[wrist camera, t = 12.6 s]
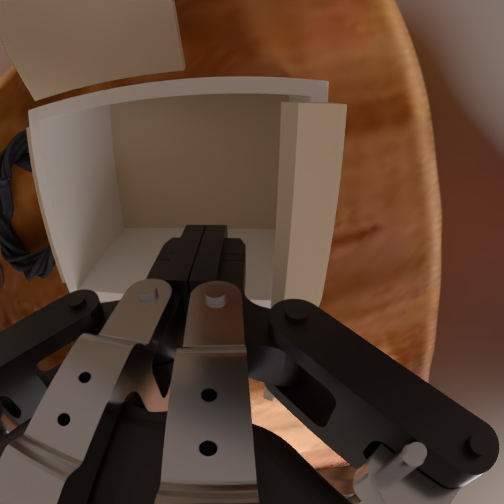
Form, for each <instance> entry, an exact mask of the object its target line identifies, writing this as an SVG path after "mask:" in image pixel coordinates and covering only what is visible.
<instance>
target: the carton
mask: <svg viewBox="0 0 504 504" xmlns="http://www.w3.org/2000/svg"><path fill="white" fill-rule="evenodd" d="M328 86H329V81H320V80H310V79H298V78H283V77H254V76H232V77H203V78H188V79H176V80H166V81H158V82H150V83H142V84H136V85H129V86H123V87H118V88H112V89H107V90H102V91H97V92H93V93H88V94H84V95H80V96H76V97H72V98H68V99H64V100H60V101H57V102H53V103H50V104H47V105H43V106H40V107H37V108H34V109H31V110H28V114H29V125H30V127H27V128H26V131H27V140H28V147H29V154H30V161H31V167H32V172H33V178H34V183H35V188H36V193H37V197H38V202H39V206H40V210H41V214H42V218H43V222H44V225H45V229H46V233H47V236H48V240H49V243H50V246H51V250H52V253H53V256H54V259H55V262H56V265H57V268H58V271H59V274H60V276H61V279H62V282H63V283H66V284H67V287H68V289H69V292H70V293H71V292H74V291H77V290H82V289H87V290H92V291H94V292H95V293H97V295H98V297H99V300H100V303H104V302H110V301H116V300H121V298H122V296H123V295H124V293H125V292H126V290H127V289H128V288H129V287H130V286H131V285H133V284H134V283H136V282H138V281H141V280H145V279H146V278H147V276H148V274H149V272H150V270H151V268H152V266H153V264H154V262H155V260H156V258H157V256H158V254H160V250H161V248H162V246H163V245H164V244H165V243H166V242H167V241H169V240H170V239H171V238H173V237H181V235H182V233H183V231H184V229H185V227H186V225H227V233H228V238H241V240H242V241H243V242H244V244H245V245H246V283H245V296H246V297H247V298H248V299H249V300H250V301H251V302H253V303H255V304H257V305H259V306H262V307H266V308H270V309H271V296H272V281H273V265H274V249H275V232H276V214H277V194H278V173H279V150H280V124H281V102H322V103H328Z"/></svg>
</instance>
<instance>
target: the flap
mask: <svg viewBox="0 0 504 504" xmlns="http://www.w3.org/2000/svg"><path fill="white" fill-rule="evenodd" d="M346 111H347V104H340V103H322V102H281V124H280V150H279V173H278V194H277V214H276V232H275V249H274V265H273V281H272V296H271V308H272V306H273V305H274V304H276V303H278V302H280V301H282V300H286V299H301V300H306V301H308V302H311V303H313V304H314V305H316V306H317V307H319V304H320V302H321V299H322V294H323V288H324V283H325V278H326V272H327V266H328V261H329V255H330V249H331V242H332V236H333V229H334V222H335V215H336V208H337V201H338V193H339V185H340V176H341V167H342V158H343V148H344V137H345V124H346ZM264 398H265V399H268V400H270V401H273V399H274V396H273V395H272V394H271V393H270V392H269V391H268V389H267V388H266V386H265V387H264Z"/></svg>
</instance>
